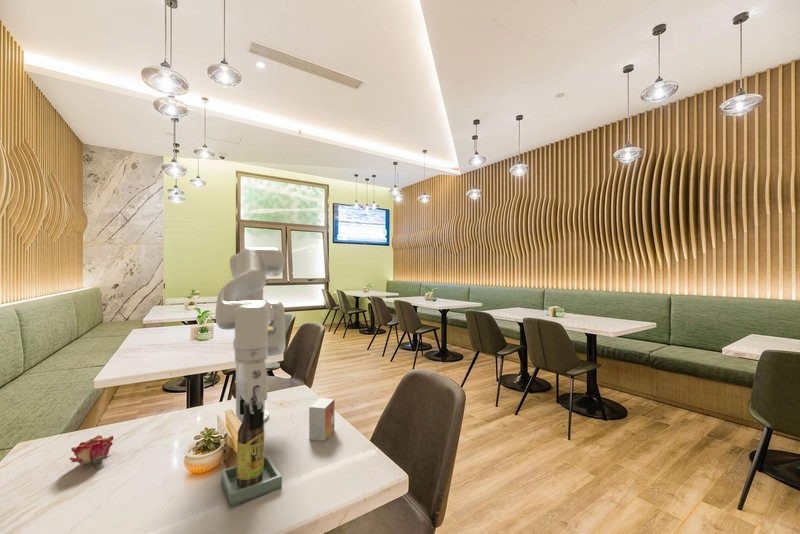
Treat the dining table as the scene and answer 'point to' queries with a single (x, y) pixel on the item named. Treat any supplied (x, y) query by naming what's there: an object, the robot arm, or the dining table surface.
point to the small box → (321, 419)
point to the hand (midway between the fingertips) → (251, 420)
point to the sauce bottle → (249, 452)
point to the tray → (244, 494)
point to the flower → (92, 451)
